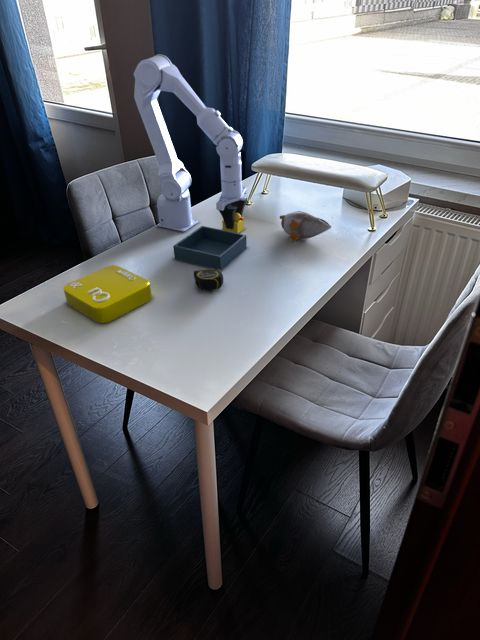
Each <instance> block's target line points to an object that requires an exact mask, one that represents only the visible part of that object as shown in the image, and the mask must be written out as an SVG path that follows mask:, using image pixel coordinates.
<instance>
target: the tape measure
mask: <svg viewBox="0 0 480 640" xmlns="http://www.w3.org/2000/svg"><path fill="white" fill-rule="evenodd" d="M193 279H194V283H195V286H196V287H197V288H198V290H201V291H205V292H211V291H212V292H213V291H216V290H219V289H220V288H222V286H223V285H224V273H223V272H222V270H220V269H212V268H206V269H196V270H194V271H193Z"/></svg>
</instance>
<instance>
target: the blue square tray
mask: <svg viewBox="0 0 480 640" xmlns="http://www.w3.org/2000/svg"><path fill="white" fill-rule="evenodd" d="M247 246H248V243H247V234H244V233H234V232H229V231H224V230H223V229H220V228H215V227H211V226H210V227H209V226H205V225H201V226H199V227H197V228H196V229H195V230H194V231H192V232H191V233H189V234H188V235H186V236H185V237H184V238H182V239H181V240H180V241H178V242H177V243H175V244H174V245H173V247H172V248H173V255H174V260H175V261H180V262H184V263H189V264H192V265H196V266H201V267H204V268H207V269H220V270H221V271H222V270H224V269H225V268H226V267H227V266H228V265H229V264H231V262H233V261H234V260H235V259H236V258H237V257H238V256H240V255H241V254H242V253H243V252H244V251H246V250H247Z"/></svg>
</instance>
